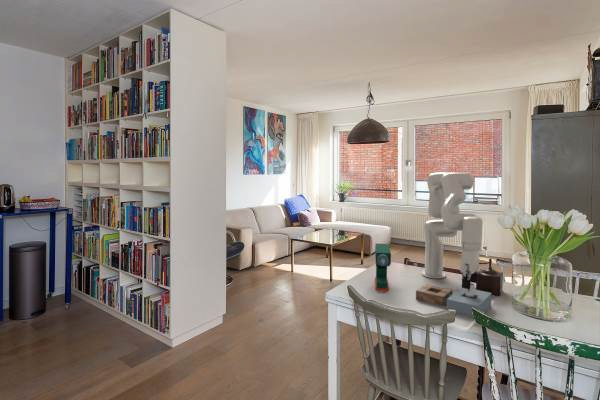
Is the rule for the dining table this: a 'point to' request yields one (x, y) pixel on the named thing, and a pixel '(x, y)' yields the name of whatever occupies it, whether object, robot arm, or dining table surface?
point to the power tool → (382, 266)
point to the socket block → (433, 294)
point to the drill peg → (470, 291)
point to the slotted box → (469, 302)
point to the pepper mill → (490, 280)
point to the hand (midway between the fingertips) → (469, 285)
